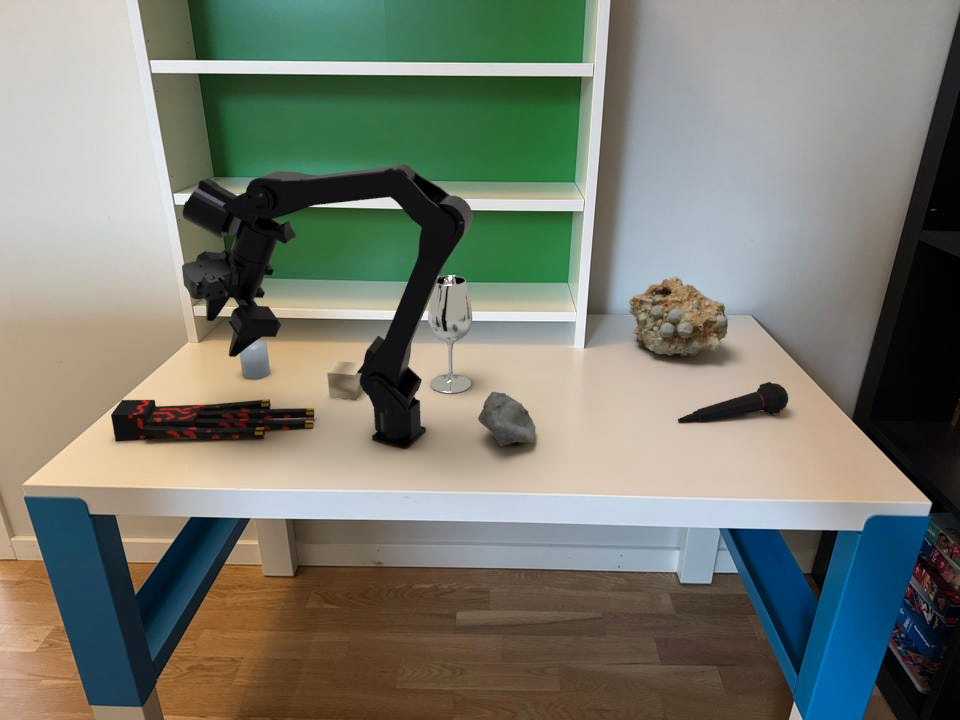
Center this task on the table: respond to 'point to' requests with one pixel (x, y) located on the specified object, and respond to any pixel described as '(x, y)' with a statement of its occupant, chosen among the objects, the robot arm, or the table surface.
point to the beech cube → (345, 380)
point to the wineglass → (450, 325)
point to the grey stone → (507, 419)
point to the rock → (677, 319)
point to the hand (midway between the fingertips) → (220, 337)
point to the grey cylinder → (255, 361)
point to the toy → (204, 420)
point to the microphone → (744, 404)
